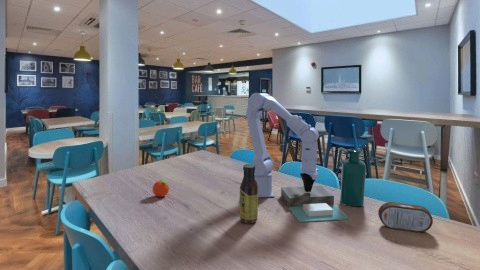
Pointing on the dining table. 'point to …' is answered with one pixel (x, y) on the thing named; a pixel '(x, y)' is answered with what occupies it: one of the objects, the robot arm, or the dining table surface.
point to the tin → (405, 217)
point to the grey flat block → (306, 196)
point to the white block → (317, 209)
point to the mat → (303, 217)
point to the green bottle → (352, 179)
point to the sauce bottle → (249, 195)
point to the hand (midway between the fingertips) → (307, 191)
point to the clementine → (160, 188)
